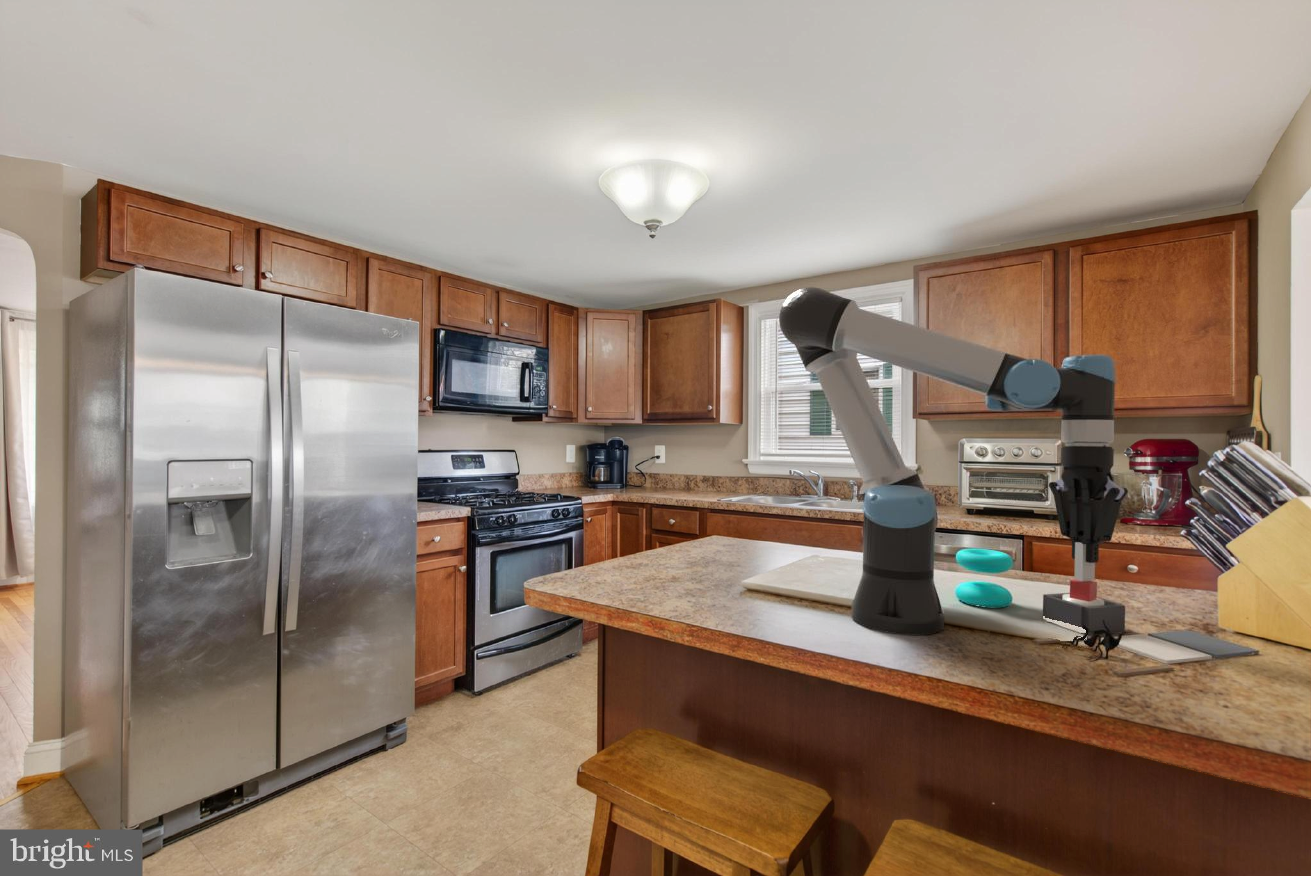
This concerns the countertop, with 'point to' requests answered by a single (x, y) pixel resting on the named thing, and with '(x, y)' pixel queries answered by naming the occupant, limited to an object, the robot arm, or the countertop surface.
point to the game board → (1139, 635)
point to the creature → (1107, 642)
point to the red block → (1083, 593)
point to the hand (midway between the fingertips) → (1084, 579)
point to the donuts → (984, 591)
